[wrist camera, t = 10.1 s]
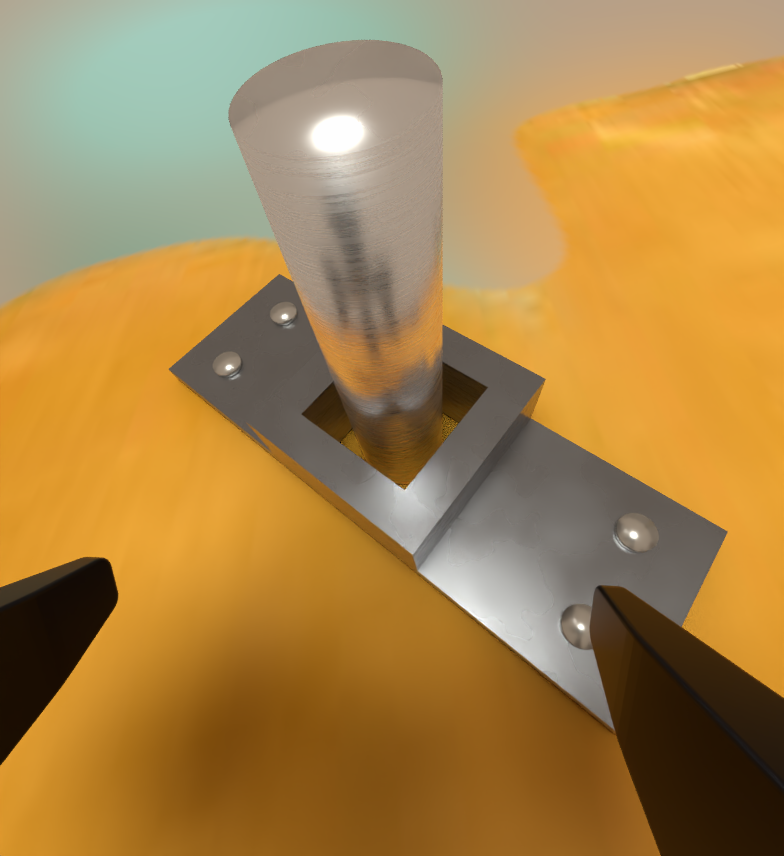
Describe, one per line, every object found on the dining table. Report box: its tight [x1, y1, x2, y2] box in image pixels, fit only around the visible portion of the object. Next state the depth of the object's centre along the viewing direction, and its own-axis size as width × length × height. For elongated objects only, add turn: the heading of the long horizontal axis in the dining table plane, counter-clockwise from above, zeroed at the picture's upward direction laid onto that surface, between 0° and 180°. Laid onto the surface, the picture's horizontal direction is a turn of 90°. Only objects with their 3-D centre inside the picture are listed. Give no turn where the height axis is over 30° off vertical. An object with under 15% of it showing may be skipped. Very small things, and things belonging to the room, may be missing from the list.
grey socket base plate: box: [169, 274, 727, 735], centre depth 18 cm, size 24×8×4 cm, turn 51°
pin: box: [229, 40, 442, 485], centre depth 13 cm, size 4×4×14 cm
